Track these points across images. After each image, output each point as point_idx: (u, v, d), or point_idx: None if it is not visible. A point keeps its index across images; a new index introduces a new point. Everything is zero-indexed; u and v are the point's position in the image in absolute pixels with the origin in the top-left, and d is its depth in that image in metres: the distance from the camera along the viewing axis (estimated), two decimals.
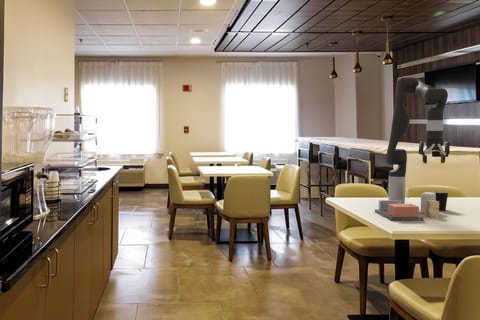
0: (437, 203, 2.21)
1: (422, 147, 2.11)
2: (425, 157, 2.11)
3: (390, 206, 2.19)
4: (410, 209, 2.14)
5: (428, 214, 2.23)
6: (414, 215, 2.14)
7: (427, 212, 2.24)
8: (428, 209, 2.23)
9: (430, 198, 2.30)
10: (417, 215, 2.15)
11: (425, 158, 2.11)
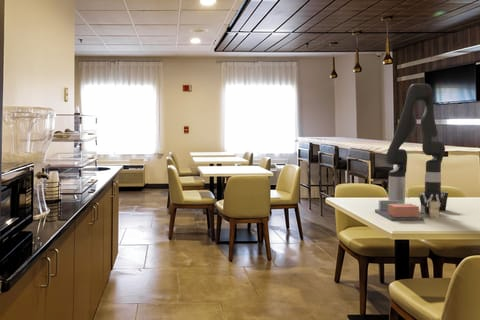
0: (437, 203, 2.21)
1: (422, 199, 2.22)
2: (427, 208, 2.23)
3: (390, 206, 2.19)
4: (410, 209, 2.14)
5: (428, 214, 2.23)
6: (414, 215, 2.14)
7: None
8: None
9: None
10: (417, 215, 2.15)
11: (427, 209, 2.23)
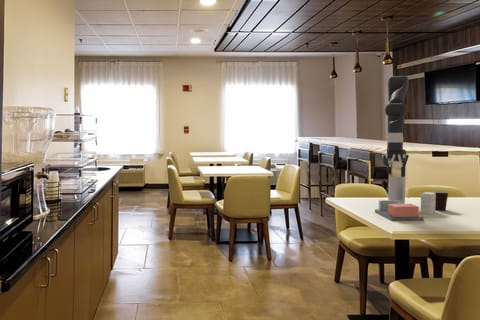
0: (399, 163, 2.27)
1: (385, 159, 2.28)
2: (390, 168, 2.28)
3: (390, 206, 2.19)
4: (410, 209, 2.14)
5: (391, 174, 2.29)
6: (414, 215, 2.14)
7: None
8: (391, 169, 2.29)
9: (430, 198, 2.30)
10: (417, 215, 2.15)
11: (390, 169, 2.28)
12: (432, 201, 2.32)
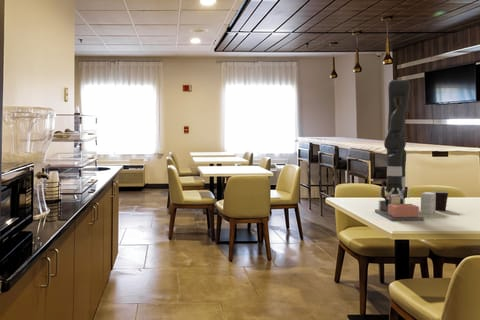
0: (398, 198, 2.28)
1: (383, 192, 2.29)
2: (387, 201, 2.29)
3: (390, 206, 2.19)
4: (410, 209, 2.14)
5: None
6: (414, 215, 2.14)
7: None
8: None
9: (430, 198, 2.30)
10: (417, 215, 2.15)
11: (387, 202, 2.29)
12: (432, 201, 2.32)
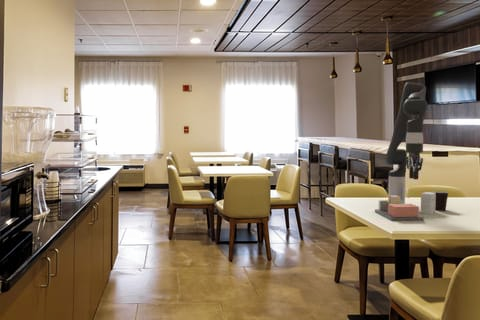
0: (398, 198, 2.28)
1: (406, 162, 2.11)
2: None
3: (390, 206, 2.19)
4: (410, 209, 2.14)
5: None
6: (414, 215, 2.14)
7: None
8: None
9: (430, 198, 2.30)
10: (417, 215, 2.15)
11: None
12: (432, 201, 2.32)
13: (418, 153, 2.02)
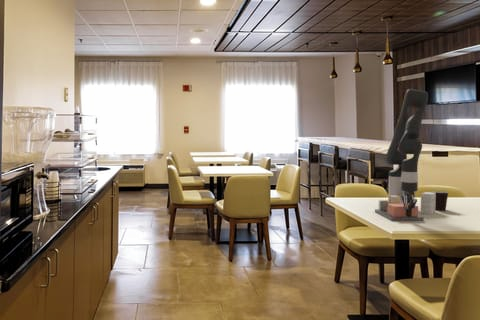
0: (398, 198, 2.28)
1: (402, 200, 2.16)
2: (406, 210, 2.13)
3: (389, 206, 2.20)
4: None
5: None
6: (413, 215, 2.15)
7: None
8: None
9: (430, 198, 2.30)
10: (416, 215, 2.15)
11: (406, 211, 2.13)
12: (432, 201, 2.32)
13: (413, 192, 2.08)
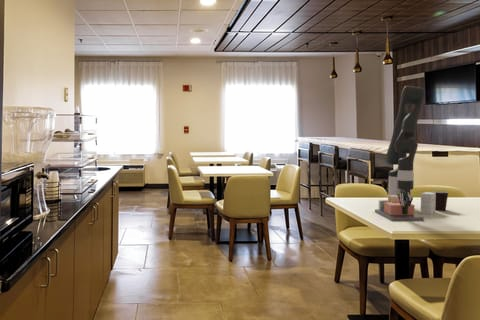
0: (398, 198, 2.28)
1: (399, 198, 2.20)
2: (402, 208, 2.17)
3: (386, 204, 2.25)
4: None
5: None
6: (410, 213, 2.20)
7: None
8: None
9: (430, 198, 2.30)
10: (413, 213, 2.20)
11: (402, 209, 2.17)
12: (432, 201, 2.32)
13: (409, 190, 2.12)
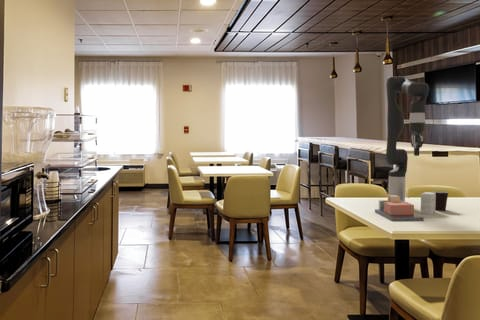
0: (397, 198, 2.29)
1: (411, 141, 2.29)
2: (414, 149, 2.26)
3: (386, 204, 2.25)
4: (406, 207, 2.20)
5: None
6: (409, 213, 2.20)
7: None
8: None
9: (430, 198, 2.30)
10: (412, 213, 2.20)
11: (414, 150, 2.26)
12: (432, 201, 2.32)
13: (420, 131, 2.21)
